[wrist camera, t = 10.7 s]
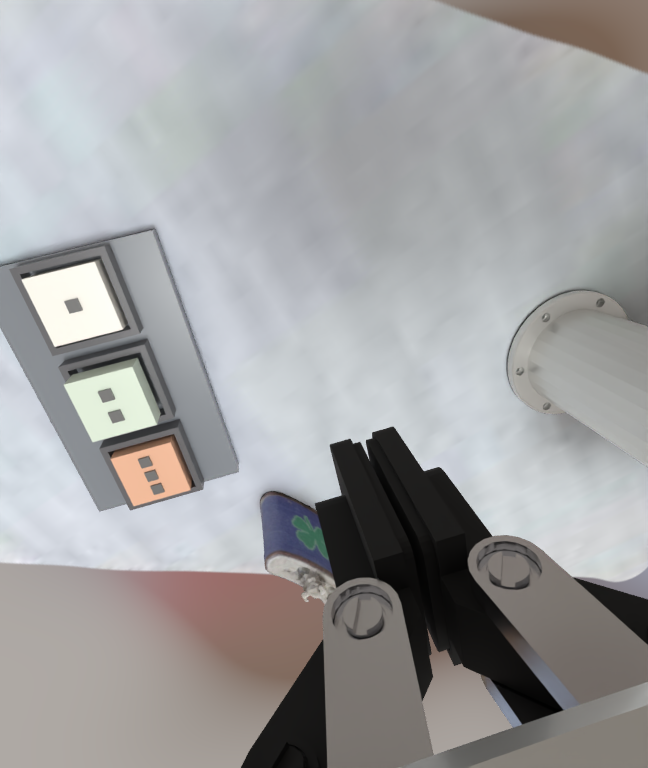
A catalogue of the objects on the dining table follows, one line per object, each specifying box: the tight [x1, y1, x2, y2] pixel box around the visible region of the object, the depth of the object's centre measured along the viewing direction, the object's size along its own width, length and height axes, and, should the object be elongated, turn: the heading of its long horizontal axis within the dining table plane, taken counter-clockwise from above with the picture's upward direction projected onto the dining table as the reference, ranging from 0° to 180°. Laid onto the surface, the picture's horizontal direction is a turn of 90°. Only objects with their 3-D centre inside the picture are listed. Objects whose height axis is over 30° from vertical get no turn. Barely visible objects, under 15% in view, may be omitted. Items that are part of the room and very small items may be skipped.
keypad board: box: [0, 229, 239, 512], centre depth 38 cm, size 13×22×3 cm, turn 13°
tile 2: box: [64, 358, 161, 442], centre depth 35 cm, size 5×5×2 cm
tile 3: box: [111, 434, 192, 506], centre depth 40 cm, size 5×5×2 cm
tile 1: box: [22, 258, 128, 347], centre depth 33 cm, size 5×5×2 cm
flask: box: [260, 491, 336, 604], centre depth 43 cm, size 9×3×11 cm, turn 48°
